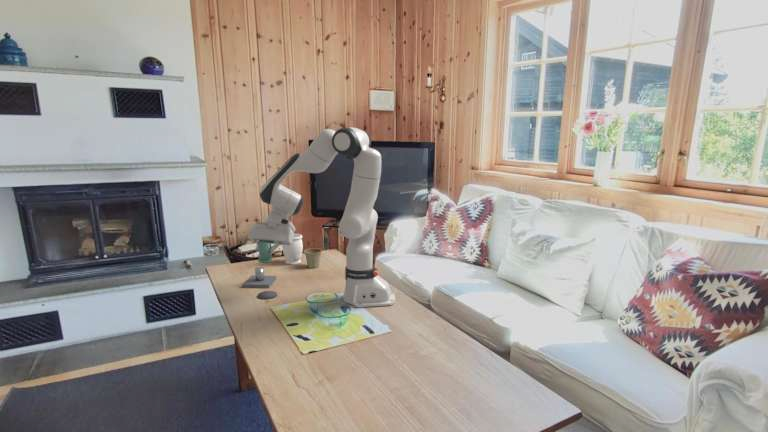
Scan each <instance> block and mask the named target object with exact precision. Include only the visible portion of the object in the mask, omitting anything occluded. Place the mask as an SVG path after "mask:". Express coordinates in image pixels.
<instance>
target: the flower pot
mask: <svg viewBox="0 0 768 432" xmlns="http://www.w3.org/2000/svg"><path fill="white" fill-rule="evenodd" d="M322 251H323V249H321V248H317V247H316V248H315V247H314V248H313V247H312V248H307V249H305V250H303V253H304V255H305V260H306V266H307V268H308V269H313V268H315V269H317V268H319V267H320V263H321V255H322Z"/></svg>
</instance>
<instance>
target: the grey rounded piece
mask: <svg viewBox="0 0 768 432" xmlns="http://www.w3.org/2000/svg"><path fill="white" fill-rule="evenodd" d="M254 275H255V281H264V276H265V269H264V267H261V266H260V267H256V268H254Z"/></svg>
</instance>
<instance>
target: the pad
mask: <svg viewBox="0 0 768 432" xmlns="http://www.w3.org/2000/svg"><path fill="white" fill-rule="evenodd" d="M277 296H278V293H277V292H276V291H273V290H264V291H261V292H259V293H257V298H258V299H260V300H270V299H274V298H277Z"/></svg>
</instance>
